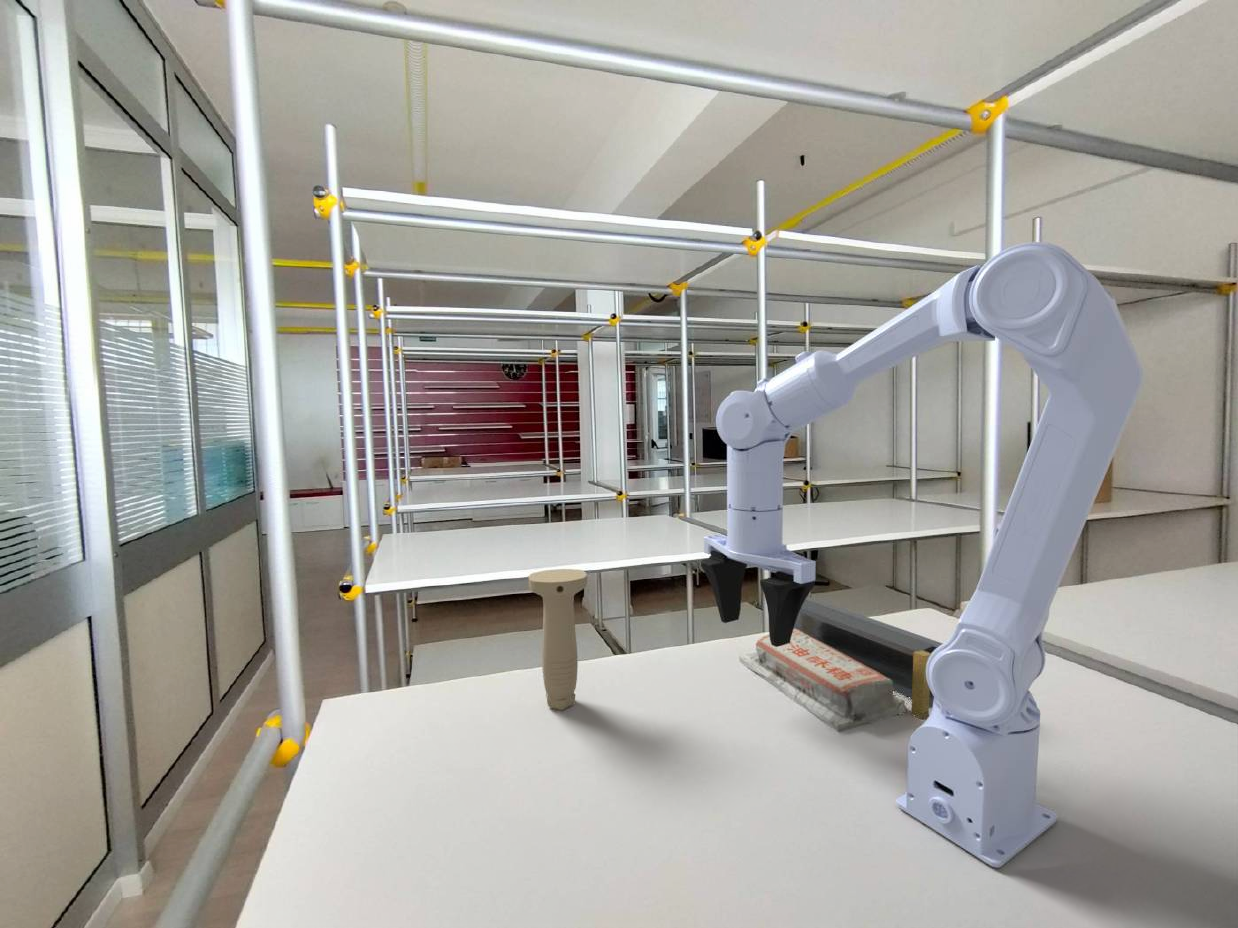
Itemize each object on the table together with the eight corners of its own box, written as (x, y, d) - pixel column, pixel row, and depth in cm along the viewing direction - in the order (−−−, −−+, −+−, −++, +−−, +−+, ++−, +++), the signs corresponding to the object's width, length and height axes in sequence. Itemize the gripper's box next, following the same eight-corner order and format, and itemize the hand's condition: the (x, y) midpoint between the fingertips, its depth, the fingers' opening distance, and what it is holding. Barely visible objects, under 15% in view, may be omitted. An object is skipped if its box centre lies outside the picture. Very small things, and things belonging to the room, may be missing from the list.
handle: (531, 696, 67) (527, 571, 65) (585, 690, 68) (583, 567, 66) (533, 718, 62) (529, 584, 60) (592, 711, 63) (589, 579, 62)
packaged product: (910, 673, 62) (838, 692, 58) (909, 716, 62) (837, 737, 58) (799, 618, 78) (738, 629, 75) (799, 651, 79) (737, 664, 75)
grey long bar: (922, 719, 61) (924, 656, 60) (774, 649, 79) (775, 599, 78) (947, 706, 63) (950, 645, 62) (799, 641, 81) (799, 593, 80)
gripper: (837, 512, 56) (834, 646, 57) (736, 495, 68) (735, 605, 70) (786, 521, 52) (785, 663, 54) (689, 500, 65) (689, 616, 66)
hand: (754, 631), depth 61 cm, fingers open, 7 cm apart
